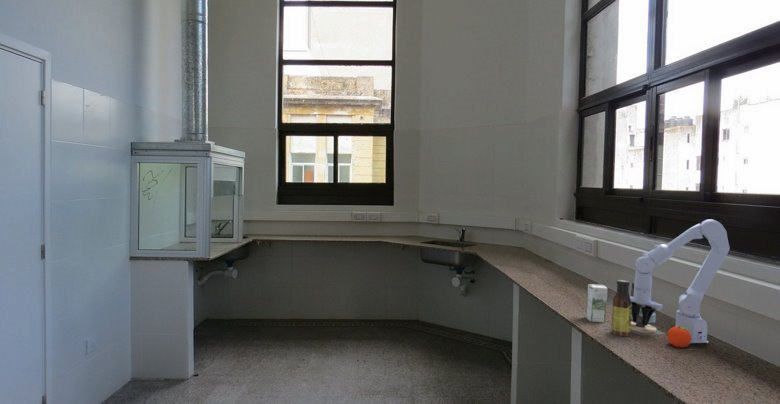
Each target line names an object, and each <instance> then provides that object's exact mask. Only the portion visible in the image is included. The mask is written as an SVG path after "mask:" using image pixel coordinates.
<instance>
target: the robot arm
mask: <svg viewBox="0 0 780 404" xmlns="http://www.w3.org/2000/svg"><path fill="white" fill-rule="evenodd" d="M704 237H705V238H706V239H707V240H708V243H709V245H710V247H711V249H710V250H709V252H708V254H707V256H706V258H705V260H703V263H702V265H701V267H700V268H699V270H698V272H697V273H696V275H695V277H694V278H693V281H691V284H690V285H689V286H688V288H687V289H686V291H685V292H684V293H683V294H680V295H679V297H678V299H677V303H678V309H677V310H676V312H675V313H676V315H675V326H674V327H679V326H680V327H684V328H687V329H689V330H687V329H686V330H687V331H688V332H689V333H690V335H691V342H690V344H708V343H709V341H708V329H709V326H708V323H707V321H706V320H705V319H703V318H702V317H701V313H700V311H701V302H702V301H703V299H704V296H705V293H706V291H707V290H708V288H709V286H710V284H711V282H713V279H714V278H715V275H716V274H717V273H718V271H719V269H720V267H721V266H722V265H723V264H722V263H723V262H724V260H725V259H726V257H727V255H728V253H729V251H730V248H731V247H730V243H729V240H728V239H729V238H728V233H727V230H726V229H725V227H724V225H723V224H722V223H720V221H717V220H715V219H712V218H711V219H709V218H708V219H705V220H703V221H701V222H700V223H697V224H695V225H693V226H691V227H690V228H688V229H687V230H685V231H684V232H683V233H681V234H679V236H676V237H675V238H674V239H672V240H671V241H669V242H668V243H667V244H664V243H663V244H662V243H660V244H655V245H654V246H653V249H651V250H650V251H648V252H647V253H645V252H644V253H642V256H640V257H638V258H637V259H636V262H635V265H634V266H635V275H634V282H633V283H634V297H631V295H629V296H630V299H631V302H632V317H633V320H632V322H634V323H636V315H639V312H640V308H641V309H642V314H643V320H642V324H643V326H647V325H649V323H648V322H649V319H650V317H651V315H652V314H653V313H655V311H656V310H657V311H663V308H664V307H663V306H664V304H660V303H659V302H656V301H652V300H651V299H652V287H653V286H652V285H653V277H652V274H653V273H652V272H653V270H654V267H659V266H660V265H662V264H664V263H665V262H666V261H668V260H670V258H672V257H673V255H674V254H673V252H675V251H676V250H678V249H679V248H681V247H683V246H685V245H686V244H688V243H689V242H692V240H701V239H704ZM641 305H643V306H645V307H641ZM691 331H692V332H691ZM693 333H694V334H693ZM694 335H695V336H694Z"/></svg>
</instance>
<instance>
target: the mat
mask: <svg viewBox="0 0 780 404" xmlns="http://www.w3.org/2000/svg"><path fill="white" fill-rule="evenodd" d="M630 333H633V334H635V335H638V336H640V335H644V336H645V335H646V336H647V335H649V334H647V333H639V332H635V331H631V332H630ZM651 335H666V332H663V331H660V330H658V329H656V333H652V334H651Z"/></svg>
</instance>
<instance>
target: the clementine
mask: <svg viewBox="0 0 780 404" xmlns="http://www.w3.org/2000/svg"><path fill="white" fill-rule="evenodd" d="M686 329H687V328H684V327H680V326H679V327H675V326H673V327H670V328H669V330H668V331H667V334H666V337H667V339H668V342H669V343H670V344H671V345H672V346H674V347H676V348H686V347H688V346H690V344H691V343H690V342H691V335H690V333H689V332H688V331H687V330H689V329H687V330H686ZM691 332H692V331H691ZM693 334H694V333H693ZM694 336H695V335H694Z"/></svg>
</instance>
